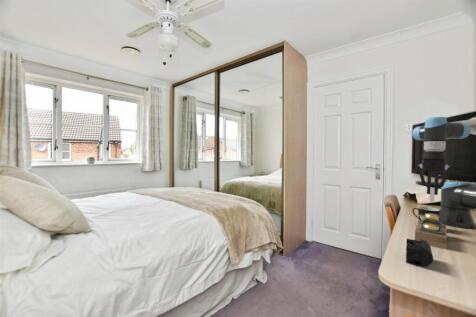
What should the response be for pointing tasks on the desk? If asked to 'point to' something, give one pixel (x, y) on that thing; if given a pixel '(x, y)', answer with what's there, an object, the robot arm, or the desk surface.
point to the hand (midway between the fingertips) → (431, 201)
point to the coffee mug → (425, 210)
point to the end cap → (418, 253)
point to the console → (432, 234)
